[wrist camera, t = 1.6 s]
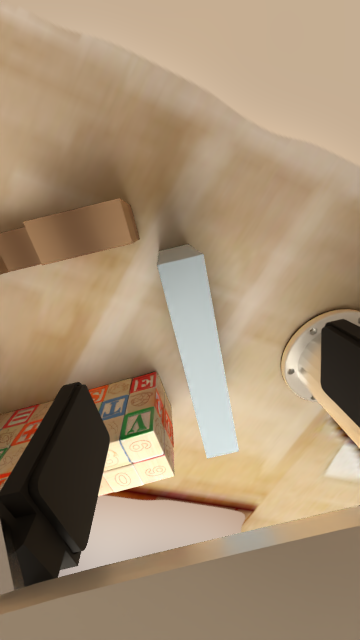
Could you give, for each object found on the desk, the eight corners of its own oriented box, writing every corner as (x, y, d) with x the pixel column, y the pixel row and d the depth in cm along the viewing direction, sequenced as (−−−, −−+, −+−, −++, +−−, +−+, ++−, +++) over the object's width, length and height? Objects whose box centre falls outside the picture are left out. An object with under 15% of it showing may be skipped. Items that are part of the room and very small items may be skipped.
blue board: (158, 251, 23) (157, 265, 15) (188, 243, 23) (203, 254, 15) (194, 393, 30) (207, 458, 22) (217, 388, 30) (238, 451, 22)
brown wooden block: (130, 205, 21) (119, 198, 16) (139, 239, 23) (132, 243, 17) (-59, 251, 22) (-134, 260, 16) (-40, 282, 23) (-105, 300, 17)
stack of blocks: (157, 368, 28) (153, 464, 17) (172, 407, 31) (178, 514, 19) (-8, 416, 29) (-116, 538, 18) (19, 450, 32) (-61, 577, 20)
